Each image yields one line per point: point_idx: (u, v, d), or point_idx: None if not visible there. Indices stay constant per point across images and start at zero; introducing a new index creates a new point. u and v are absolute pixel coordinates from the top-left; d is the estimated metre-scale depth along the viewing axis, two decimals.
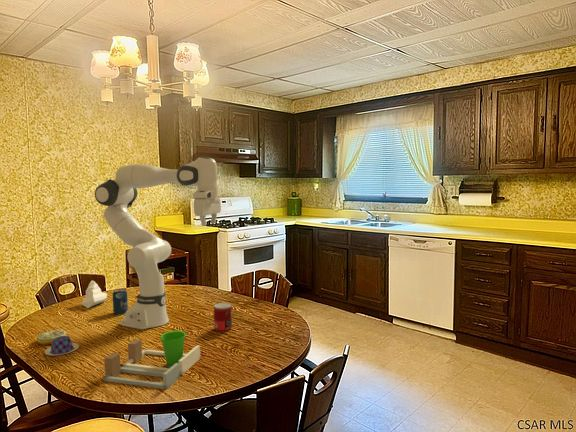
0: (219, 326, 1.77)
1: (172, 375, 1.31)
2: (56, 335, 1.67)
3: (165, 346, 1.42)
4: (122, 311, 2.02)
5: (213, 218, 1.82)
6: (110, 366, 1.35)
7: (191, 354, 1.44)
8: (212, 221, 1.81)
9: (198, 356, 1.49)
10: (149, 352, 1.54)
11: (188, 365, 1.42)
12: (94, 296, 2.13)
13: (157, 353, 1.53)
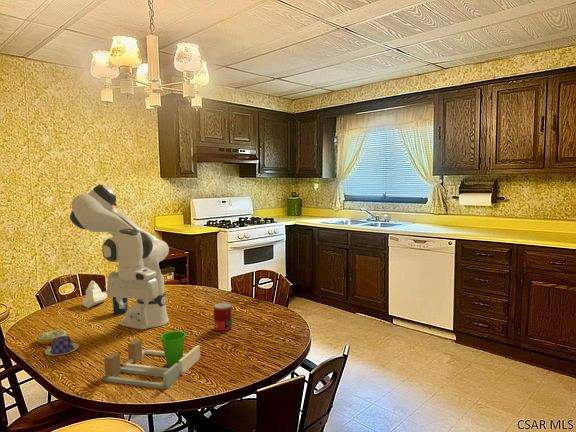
0: (219, 326, 1.77)
1: (172, 375, 1.31)
2: (56, 335, 1.67)
3: (165, 346, 1.42)
4: (122, 311, 2.02)
5: (121, 302, 1.49)
6: (110, 366, 1.35)
7: (191, 354, 1.44)
8: (123, 306, 1.49)
9: (198, 356, 1.49)
10: (149, 352, 1.54)
11: (188, 365, 1.42)
12: (94, 296, 2.13)
13: (157, 353, 1.53)
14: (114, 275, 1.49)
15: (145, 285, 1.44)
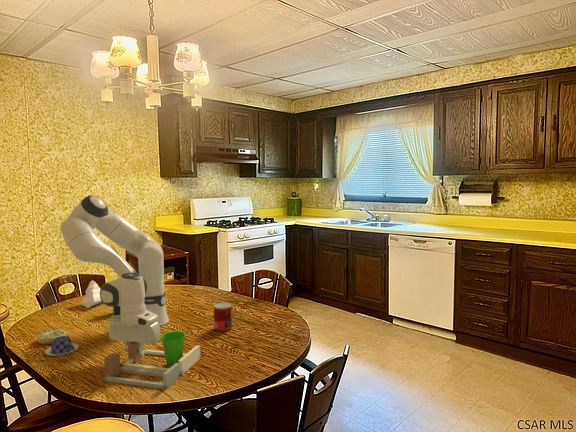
0: (219, 326, 1.77)
1: (172, 375, 1.31)
2: (56, 335, 1.67)
3: (165, 346, 1.42)
4: None
5: None
6: (110, 366, 1.35)
7: (191, 354, 1.44)
8: None
9: (198, 356, 1.49)
10: (149, 352, 1.54)
11: (188, 365, 1.42)
12: (94, 296, 2.13)
13: (157, 353, 1.53)
14: (116, 318, 1.50)
15: (148, 329, 1.45)
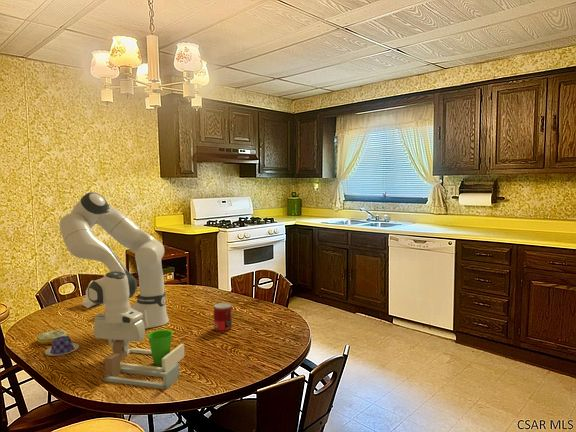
0: (219, 326, 1.77)
1: (172, 375, 1.31)
2: (56, 335, 1.67)
3: (152, 345, 1.43)
4: None
5: None
6: (110, 366, 1.35)
7: (175, 352, 1.45)
8: None
9: (182, 354, 1.50)
10: (134, 350, 1.56)
11: (172, 363, 1.43)
12: None
13: (142, 351, 1.55)
14: (101, 317, 1.51)
15: (132, 327, 1.47)
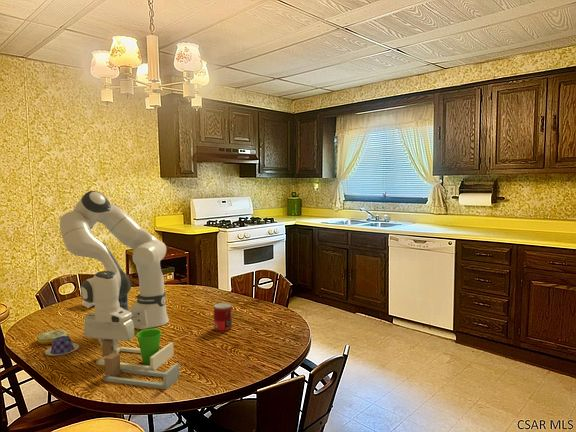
0: (219, 326, 1.77)
1: (172, 375, 1.31)
2: (57, 335, 1.67)
3: (141, 344, 1.44)
4: None
5: None
6: (110, 366, 1.35)
7: (163, 351, 1.46)
8: None
9: (171, 353, 1.52)
10: (124, 349, 1.57)
11: (160, 362, 1.44)
12: None
13: (132, 350, 1.56)
14: (91, 316, 1.53)
15: (121, 326, 1.48)
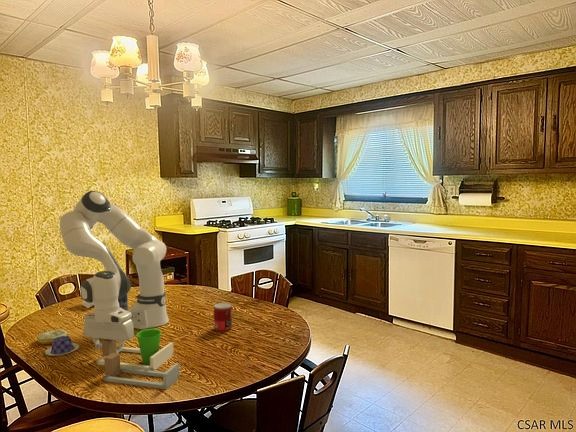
0: (219, 326, 1.77)
1: (172, 375, 1.31)
2: (57, 335, 1.67)
3: (140, 344, 1.44)
4: None
5: (97, 342, 1.53)
6: (110, 366, 1.35)
7: (163, 351, 1.46)
8: (100, 345, 1.53)
9: (171, 353, 1.52)
10: (124, 349, 1.57)
11: (160, 362, 1.44)
12: None
13: (132, 350, 1.56)
14: (90, 316, 1.53)
15: (121, 327, 1.48)
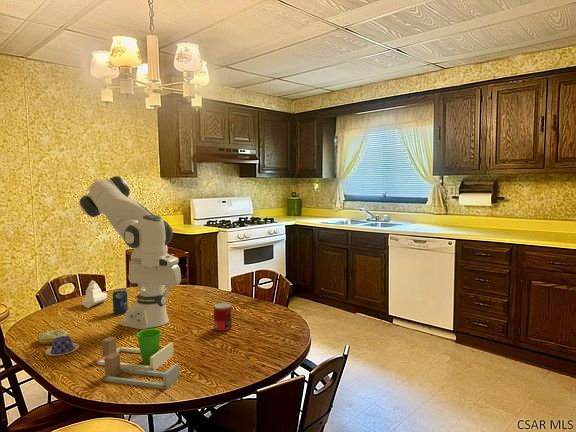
0: (219, 326, 1.77)
1: (172, 375, 1.31)
2: (57, 335, 1.67)
3: (140, 344, 1.44)
4: (122, 311, 2.02)
5: (143, 288, 1.50)
6: (110, 366, 1.35)
7: (163, 351, 1.46)
8: (145, 292, 1.49)
9: (171, 353, 1.52)
10: (124, 349, 1.57)
11: (160, 362, 1.44)
12: (94, 296, 2.13)
13: (132, 350, 1.56)
14: (136, 261, 1.49)
15: (168, 271, 1.44)
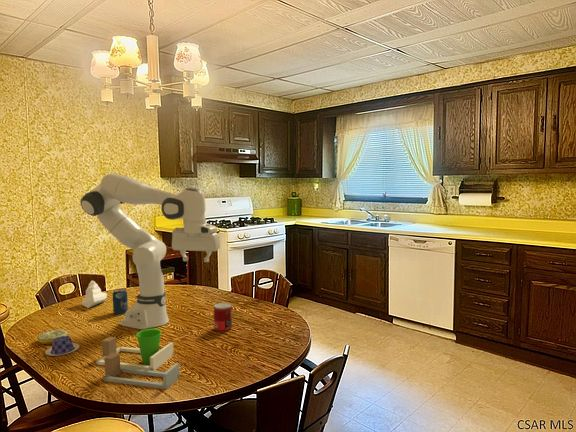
0: (219, 326, 1.77)
1: (172, 375, 1.31)
2: (57, 335, 1.67)
3: (140, 344, 1.44)
4: (122, 311, 2.02)
5: (184, 255, 1.64)
6: (110, 366, 1.35)
7: (163, 351, 1.46)
8: (187, 258, 1.64)
9: (171, 353, 1.52)
10: (124, 349, 1.57)
11: (160, 362, 1.44)
12: (94, 296, 2.13)
13: (132, 350, 1.56)
14: (178, 230, 1.63)
15: (209, 237, 1.59)
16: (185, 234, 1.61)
